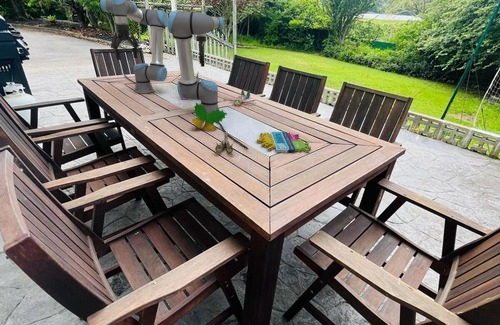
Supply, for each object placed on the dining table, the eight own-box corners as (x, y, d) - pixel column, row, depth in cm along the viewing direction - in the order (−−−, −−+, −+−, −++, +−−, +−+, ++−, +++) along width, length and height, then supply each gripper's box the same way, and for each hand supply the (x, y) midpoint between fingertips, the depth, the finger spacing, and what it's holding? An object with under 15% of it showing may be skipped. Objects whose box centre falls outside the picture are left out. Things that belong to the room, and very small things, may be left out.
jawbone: (234, 135, 144) (233, 125, 135) (233, 160, 138) (232, 151, 129) (217, 135, 144) (216, 125, 135) (216, 160, 138) (214, 150, 129)
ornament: (218, 133, 171) (224, 110, 169) (221, 134, 163) (227, 111, 161) (186, 125, 162) (192, 101, 160) (189, 126, 155) (195, 101, 153)
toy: (261, 91, 228) (254, 99, 202) (261, 99, 231) (253, 108, 205) (231, 87, 233) (220, 95, 207) (230, 95, 236) (219, 104, 210)
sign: (313, 150, 142) (258, 149, 139) (312, 153, 143) (258, 152, 140) (301, 132, 164) (254, 130, 161) (301, 134, 165) (254, 133, 162)
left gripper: (134, 23, 179) (138, 56, 190) (100, 23, 160) (107, 59, 170) (141, 24, 176) (145, 57, 187) (108, 24, 157) (114, 61, 167)
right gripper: (195, 34, 208) (196, 62, 218) (197, 36, 187) (198, 67, 197) (204, 34, 210) (205, 62, 220) (207, 37, 189) (208, 68, 199)
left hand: (127, 58), depth 179 cm, fingers open, 13 cm apart
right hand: (201, 65), depth 209 cm, fingers open, 13 cm apart
